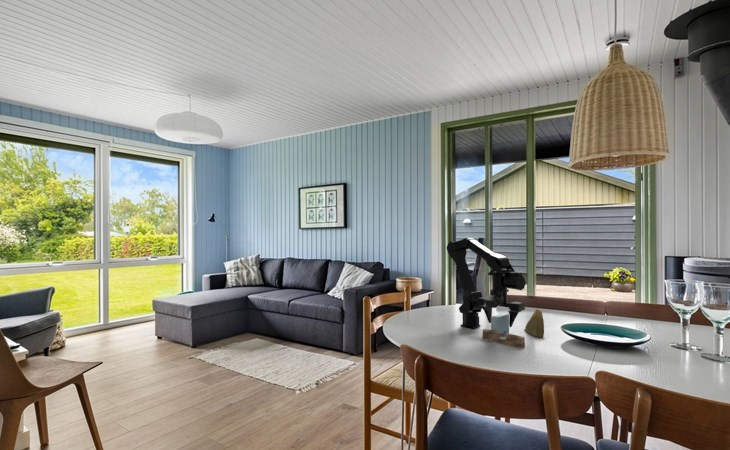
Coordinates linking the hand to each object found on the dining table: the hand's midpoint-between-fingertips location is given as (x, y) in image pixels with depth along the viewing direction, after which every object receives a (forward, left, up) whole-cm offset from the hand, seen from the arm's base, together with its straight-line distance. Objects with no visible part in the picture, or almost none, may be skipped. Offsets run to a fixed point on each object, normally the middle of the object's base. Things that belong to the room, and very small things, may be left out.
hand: (500, 324), depth 159 cm
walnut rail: (+6, -9, -4) cm, 12 cm away
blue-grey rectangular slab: (0, 0, -4) cm, 4 cm away
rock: (+9, +11, -4) cm, 15 cm away
